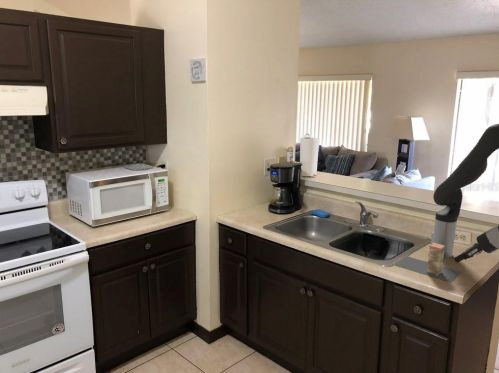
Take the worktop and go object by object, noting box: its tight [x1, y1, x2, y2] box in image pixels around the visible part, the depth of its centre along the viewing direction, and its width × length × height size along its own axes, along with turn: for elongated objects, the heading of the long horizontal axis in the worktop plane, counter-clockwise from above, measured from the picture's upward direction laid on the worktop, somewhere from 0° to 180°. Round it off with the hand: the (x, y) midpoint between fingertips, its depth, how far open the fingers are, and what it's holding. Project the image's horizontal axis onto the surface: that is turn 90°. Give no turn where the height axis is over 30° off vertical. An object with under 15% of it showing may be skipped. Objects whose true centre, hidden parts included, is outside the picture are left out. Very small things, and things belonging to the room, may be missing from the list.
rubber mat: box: [394, 256, 463, 283], centre depth 179 cm, size 24×14×1 cm, turn 47°
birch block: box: [427, 243, 445, 276], centre depth 174 cm, size 4×4×12 cm
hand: (455, 260), depth 168 cm, fingers closed
